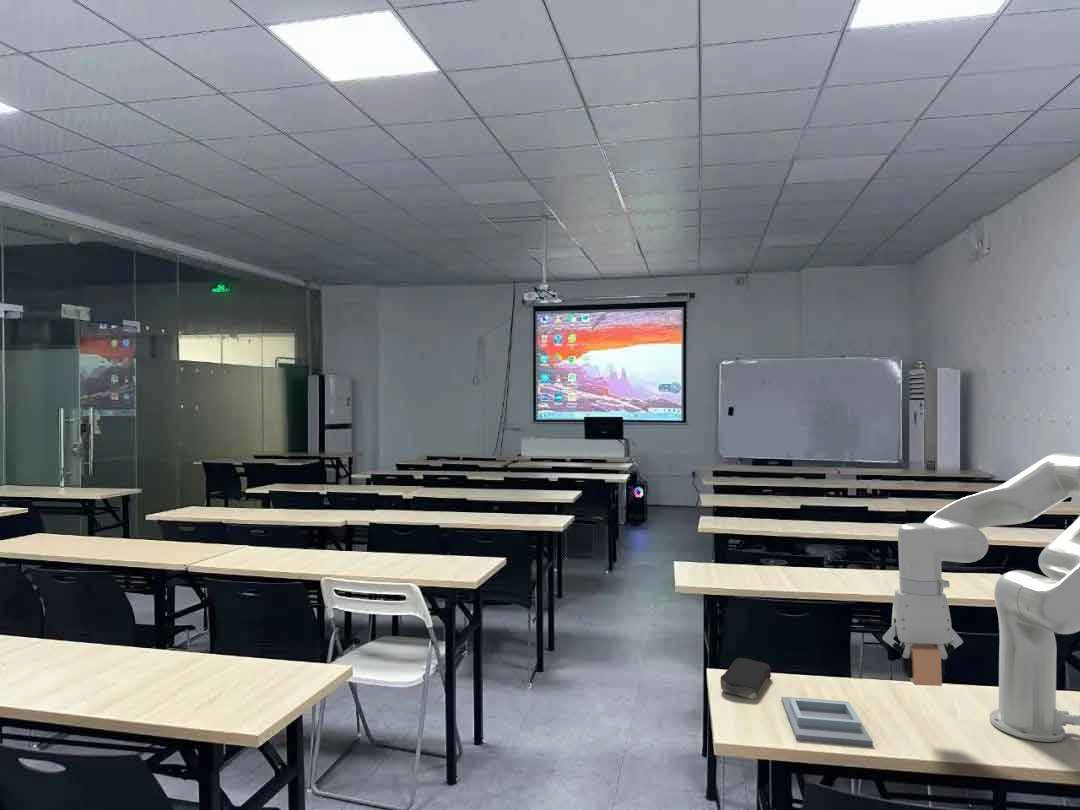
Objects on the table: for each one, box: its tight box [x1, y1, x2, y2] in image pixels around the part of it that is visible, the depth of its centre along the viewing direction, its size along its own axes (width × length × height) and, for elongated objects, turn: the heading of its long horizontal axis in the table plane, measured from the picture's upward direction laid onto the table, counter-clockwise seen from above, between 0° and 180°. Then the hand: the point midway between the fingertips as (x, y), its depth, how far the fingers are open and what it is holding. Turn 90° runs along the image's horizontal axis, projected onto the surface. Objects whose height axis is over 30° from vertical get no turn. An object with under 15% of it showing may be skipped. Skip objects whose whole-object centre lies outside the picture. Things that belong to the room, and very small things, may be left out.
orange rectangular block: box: [905, 644, 943, 687], centre depth 142 cm, size 5×5×7 cm
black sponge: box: [720, 657, 772, 700], centre depth 164 cm, size 16×8×4 cm, turn 150°
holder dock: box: [780, 696, 874, 747], centre depth 145 cm, size 14×18×2 cm
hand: (923, 675), depth 142 cm, fingers closed on orange rectangular block, 5 cm apart
